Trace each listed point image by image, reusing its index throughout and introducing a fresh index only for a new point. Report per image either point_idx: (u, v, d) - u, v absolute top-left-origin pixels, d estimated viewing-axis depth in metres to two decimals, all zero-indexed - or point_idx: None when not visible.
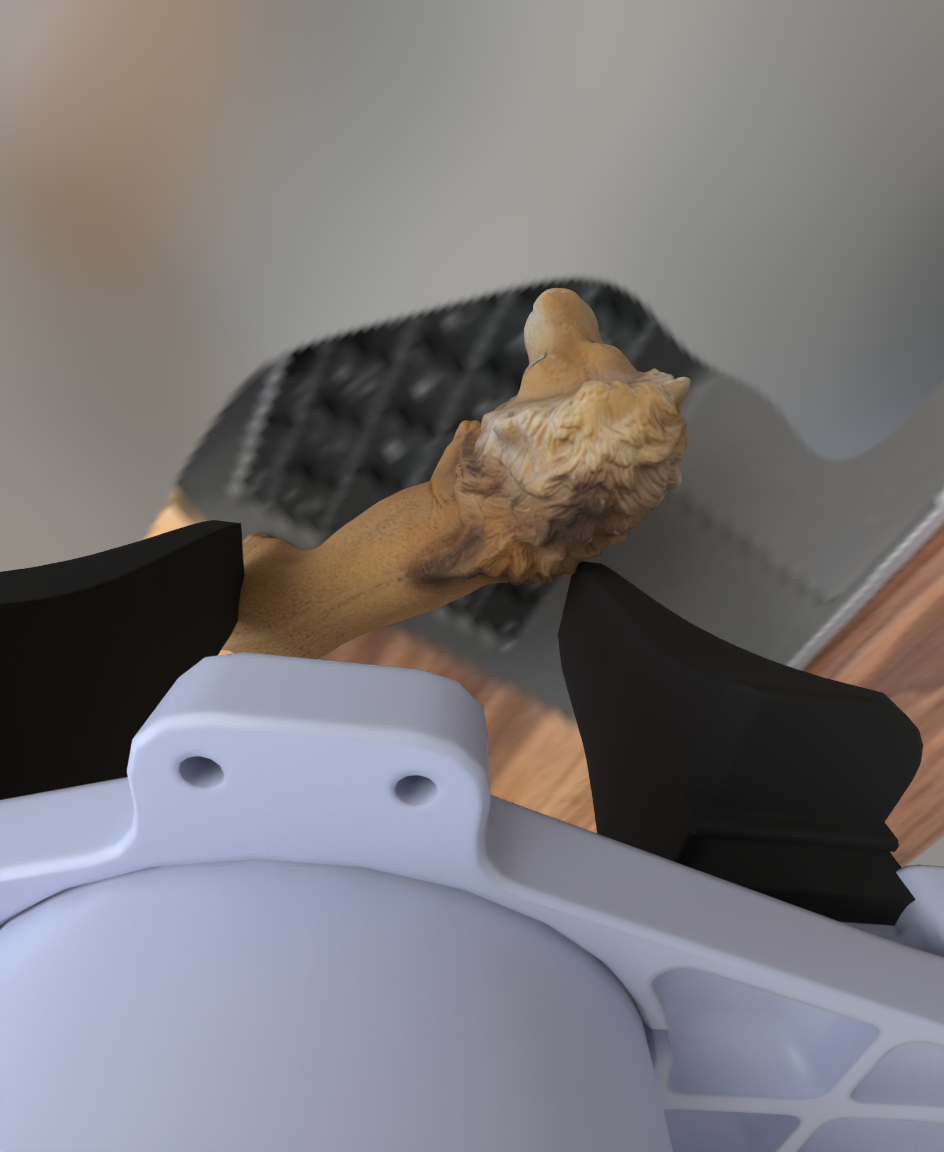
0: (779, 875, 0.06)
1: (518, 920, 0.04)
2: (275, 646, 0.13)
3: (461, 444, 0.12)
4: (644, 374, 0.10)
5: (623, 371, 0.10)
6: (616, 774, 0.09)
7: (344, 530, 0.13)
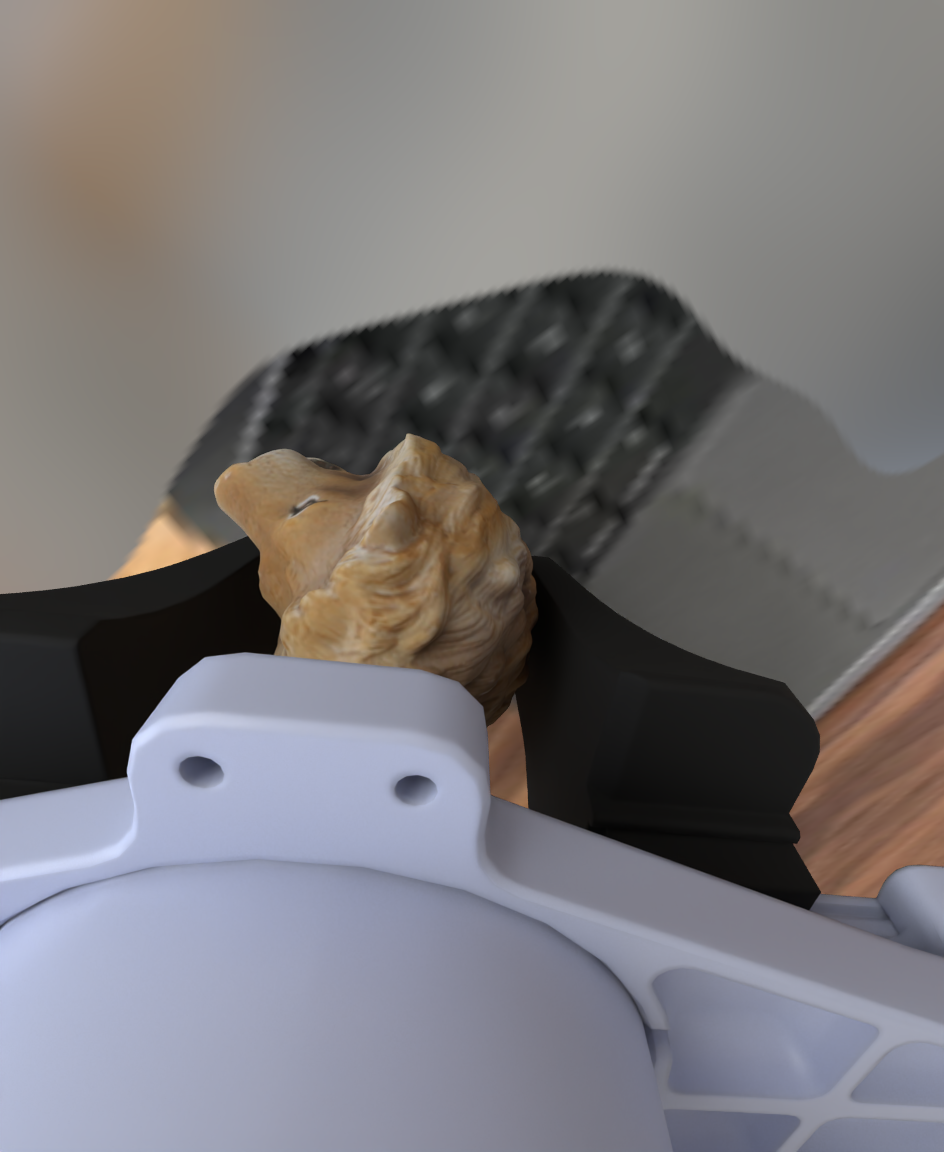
0: None
1: (518, 920, 0.04)
2: None
3: None
4: (363, 508, 0.07)
5: (334, 532, 0.07)
6: (543, 768, 0.09)
7: None
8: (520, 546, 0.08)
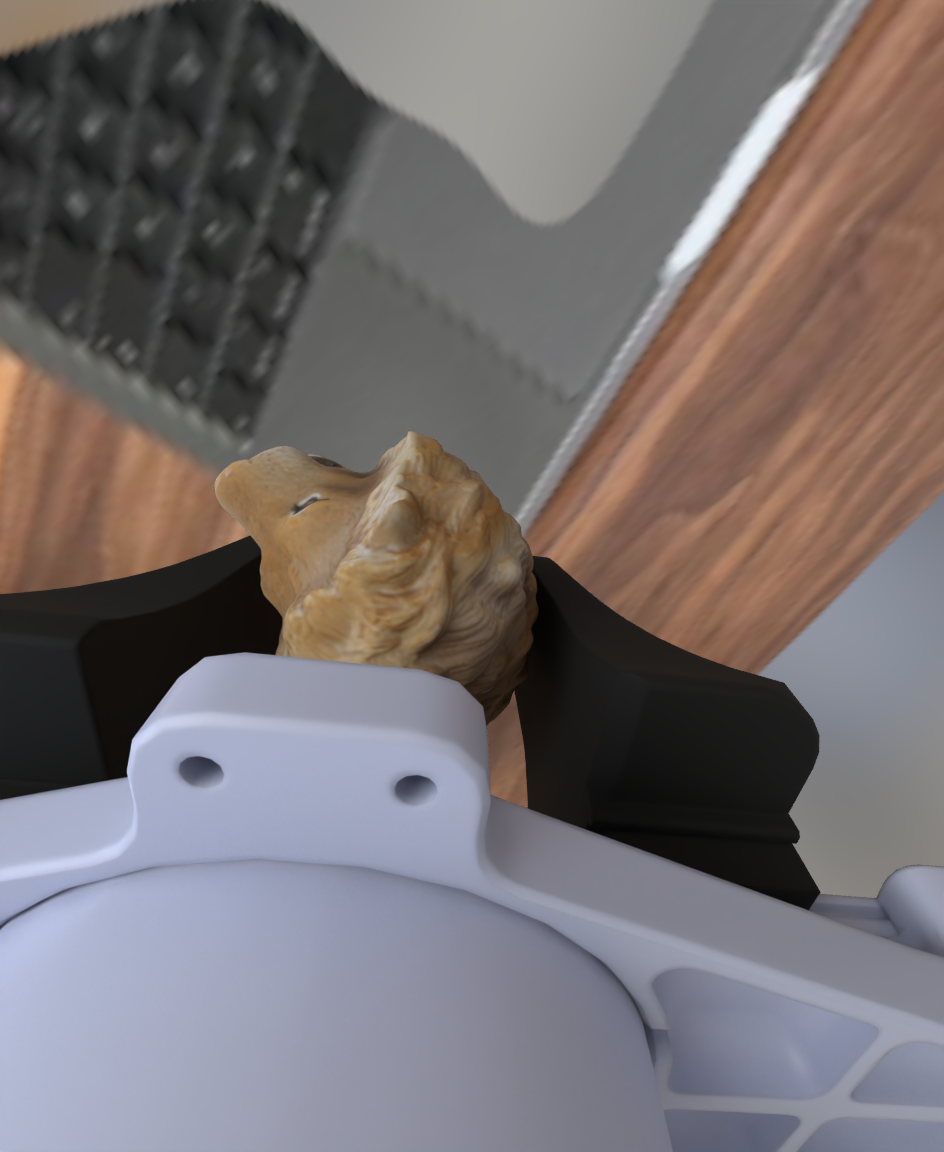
0: None
1: (518, 920, 0.04)
2: None
3: None
4: (365, 507, 0.07)
5: (337, 530, 0.07)
6: (543, 768, 0.09)
7: None
8: (522, 544, 0.08)
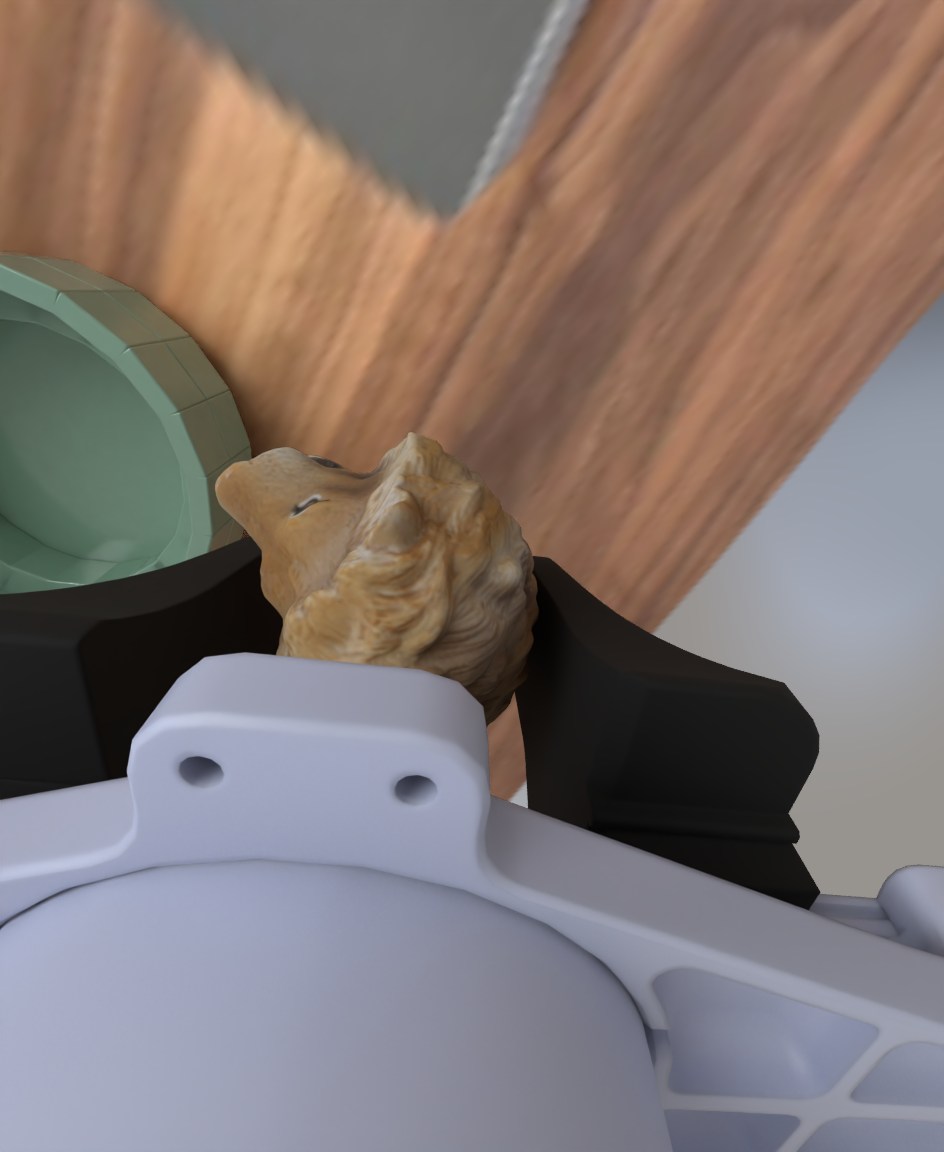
0: None
1: (518, 920, 0.04)
2: None
3: None
4: (366, 508, 0.07)
5: (337, 532, 0.07)
6: (543, 768, 0.09)
7: None
8: (522, 545, 0.08)
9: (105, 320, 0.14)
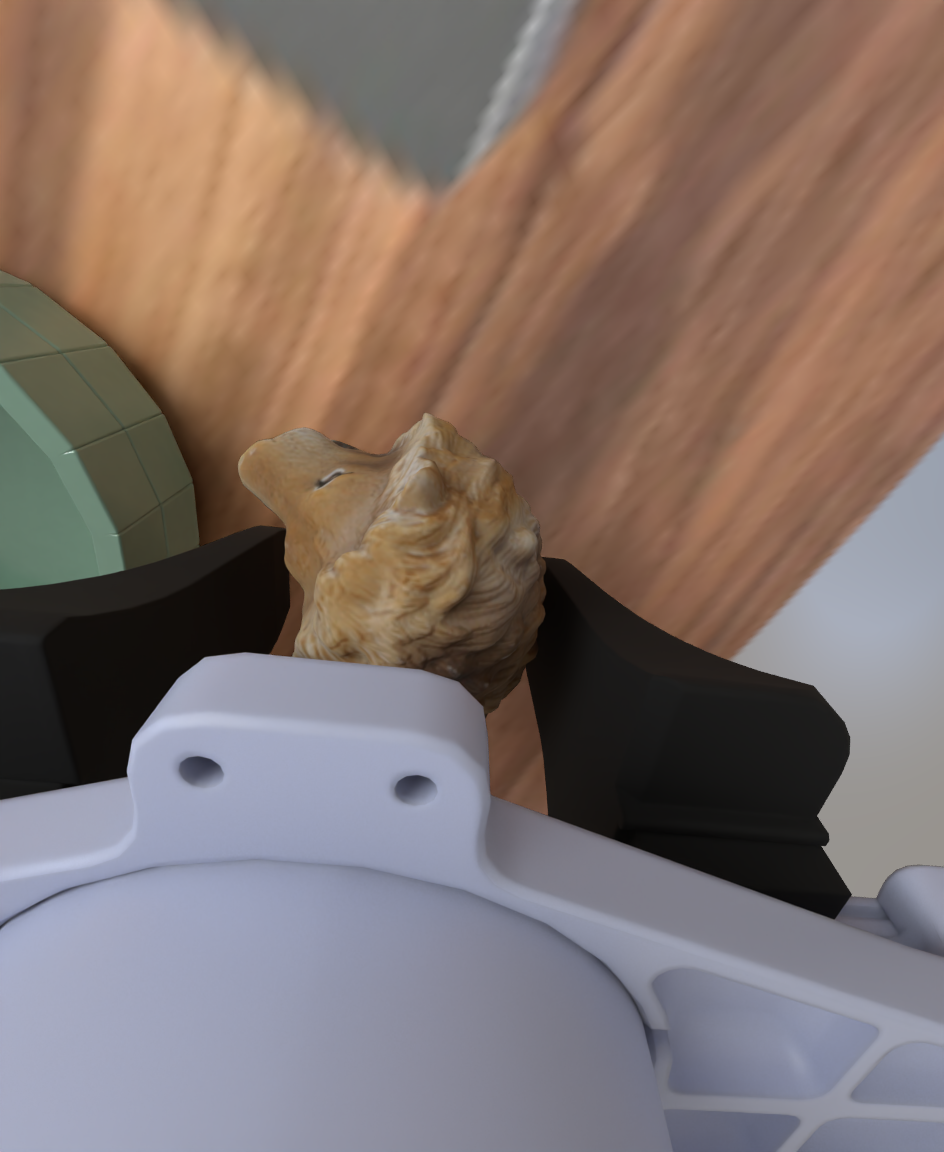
0: (703, 869, 0.06)
1: (518, 920, 0.04)
2: None
3: None
4: (389, 478, 0.07)
5: (362, 501, 0.07)
6: (565, 770, 0.09)
7: None
8: (534, 519, 0.08)
9: None
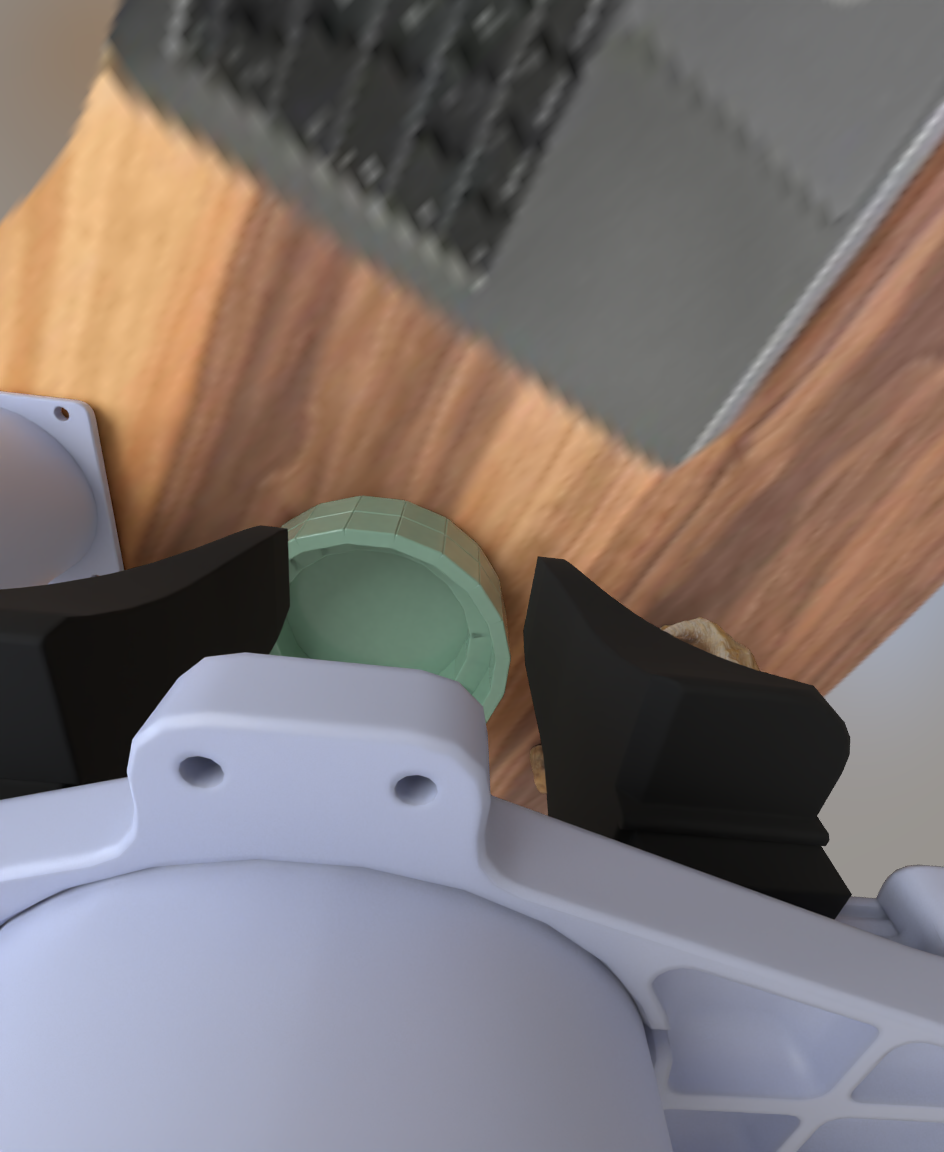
0: (704, 869, 0.06)
1: (518, 920, 0.04)
2: None
3: None
4: None
5: None
6: (565, 770, 0.09)
7: None
8: None
9: (463, 566, 0.20)
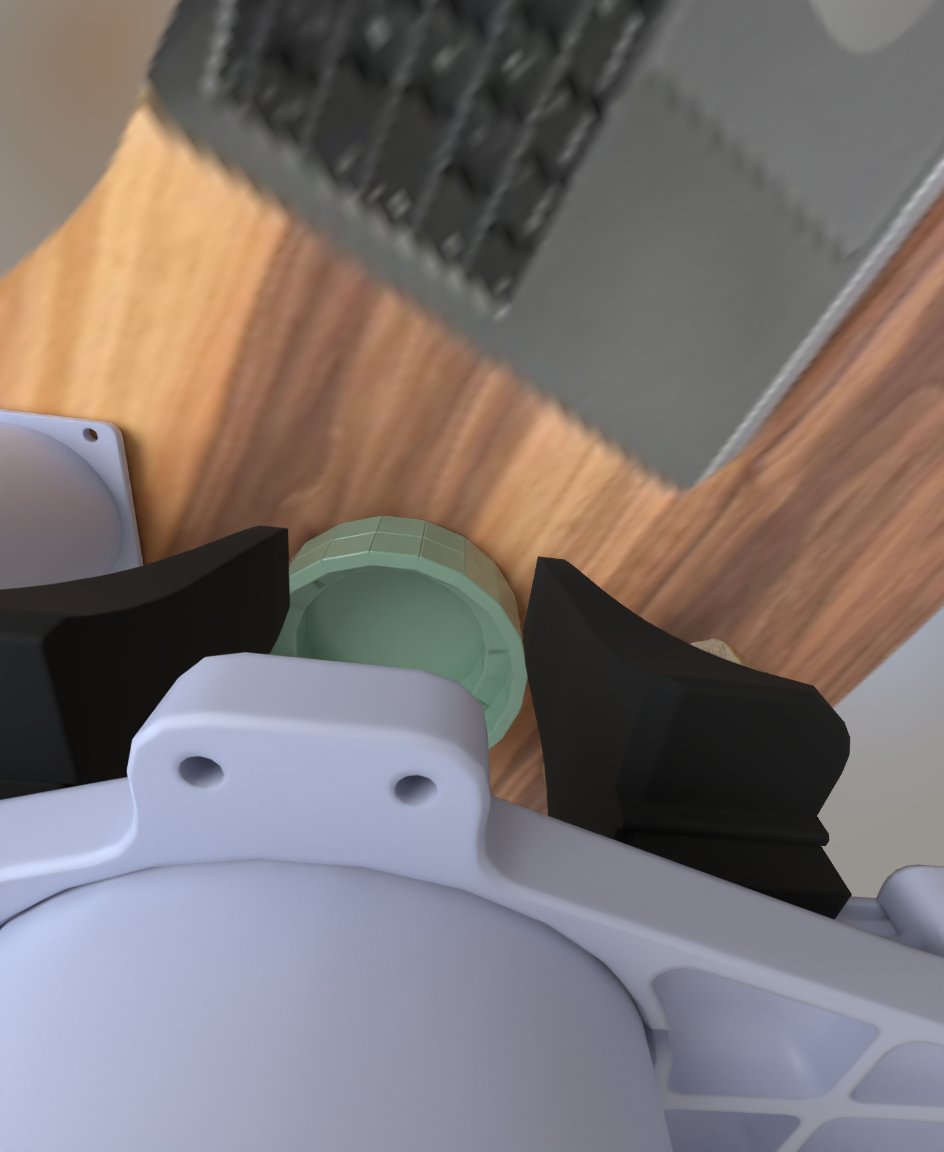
0: (704, 869, 0.06)
1: (518, 920, 0.04)
2: None
3: None
4: None
5: None
6: (565, 769, 0.09)
7: None
8: None
9: (484, 586, 0.21)
